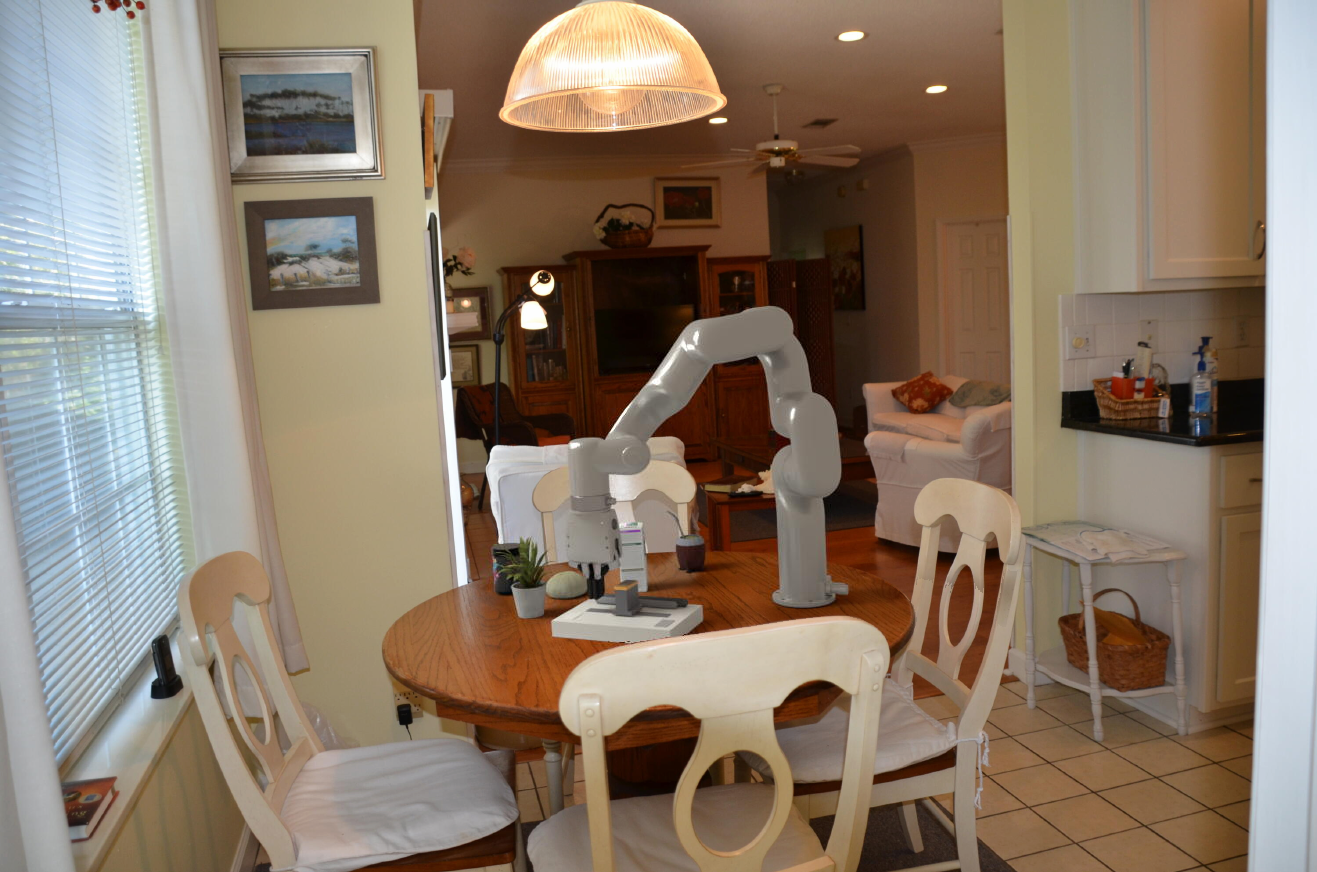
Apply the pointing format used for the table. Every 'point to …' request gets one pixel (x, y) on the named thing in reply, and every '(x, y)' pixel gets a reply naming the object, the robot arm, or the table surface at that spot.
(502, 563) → the supplement container
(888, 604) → the table surface
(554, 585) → the sea urchin shell
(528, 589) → the house plant
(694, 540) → the mate gourd
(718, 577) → the table surface
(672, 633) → the base
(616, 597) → the handle
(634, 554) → the syrup box
